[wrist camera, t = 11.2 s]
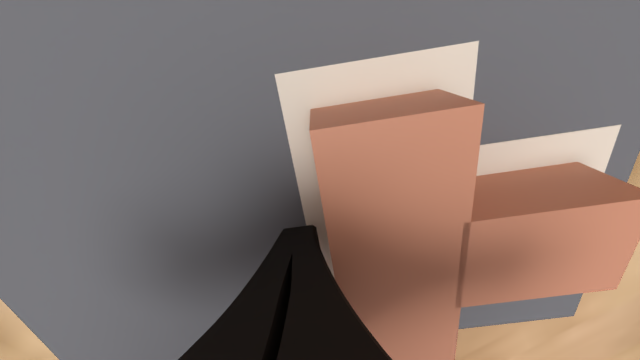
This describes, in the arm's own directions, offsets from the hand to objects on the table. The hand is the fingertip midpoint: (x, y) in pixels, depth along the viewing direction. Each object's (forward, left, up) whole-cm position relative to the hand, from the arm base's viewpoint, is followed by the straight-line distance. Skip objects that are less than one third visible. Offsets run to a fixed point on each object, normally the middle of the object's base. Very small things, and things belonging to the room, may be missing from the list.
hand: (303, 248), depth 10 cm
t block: (0, -5, -1) cm, 5 cm away
